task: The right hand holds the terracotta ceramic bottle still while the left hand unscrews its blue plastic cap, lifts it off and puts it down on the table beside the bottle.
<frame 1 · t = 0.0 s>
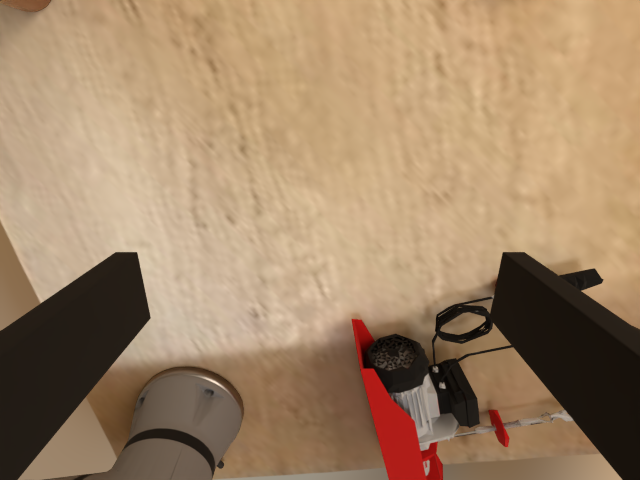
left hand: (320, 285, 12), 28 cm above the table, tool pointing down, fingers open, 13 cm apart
electric hoist: (471, 364, 48), on the table
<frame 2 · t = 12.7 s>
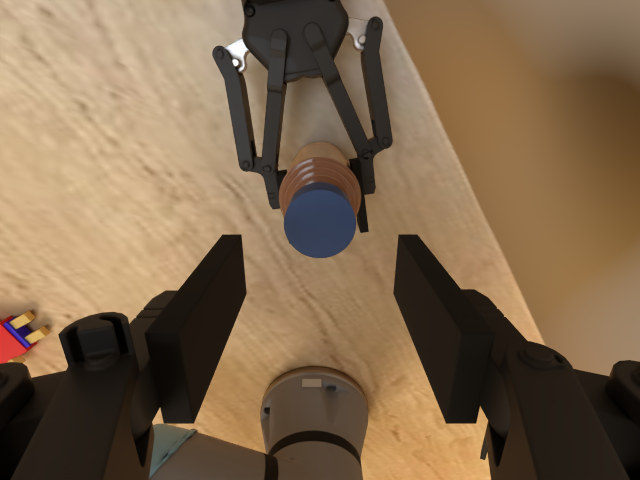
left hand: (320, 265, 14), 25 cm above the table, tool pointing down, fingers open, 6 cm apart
right hand: (328, 232, 33), fingers closed on bottle, 6 cm apart
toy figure: (9, 337, 45), on the table
cap: (319, 223, 19), point 19 cm above the table, screwed on, not yet turned
bottle: (319, 169, 37), on the table, touching right hand
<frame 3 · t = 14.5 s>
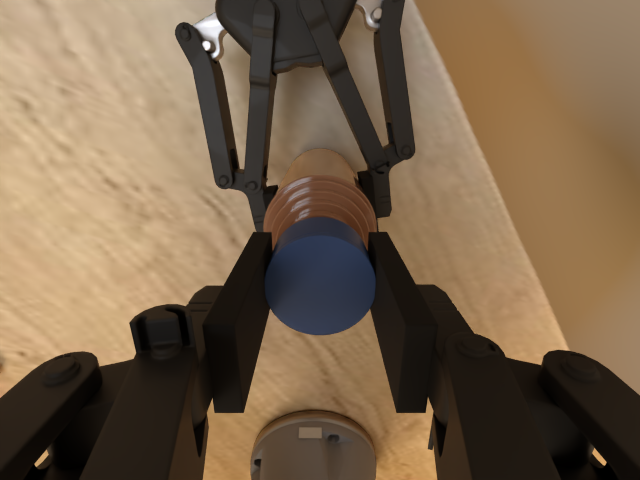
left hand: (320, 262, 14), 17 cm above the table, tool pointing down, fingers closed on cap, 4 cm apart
right hand: (330, 263, 26), fingers closed on bottle, 6 cm apart
cap: (320, 284, 12), point 19 cm above the table, screwed on, not yet turned, touching left hand
bottle: (320, 182, 31), on the table, touching right hand
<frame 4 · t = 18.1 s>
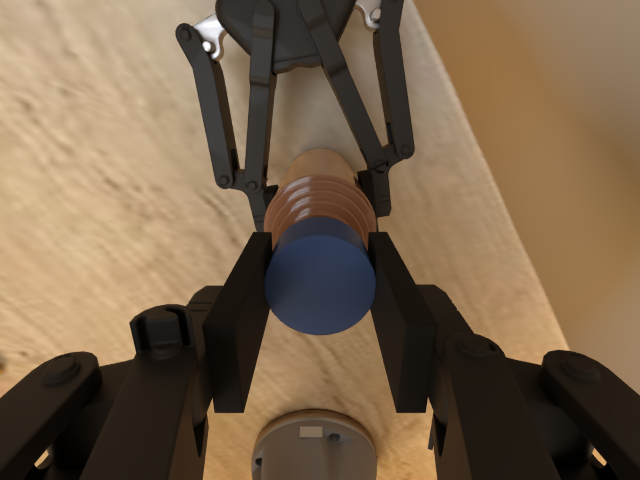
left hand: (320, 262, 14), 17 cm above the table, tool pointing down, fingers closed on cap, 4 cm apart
right hand: (330, 263, 26), fingers closed on bottle, 6 cm apart
cap: (320, 284, 12), point 19 cm above the table, turned 114° so far, risen 0.1 cm, still on its thread, touching left hand
bottle: (320, 182, 31), on the table, touching right hand
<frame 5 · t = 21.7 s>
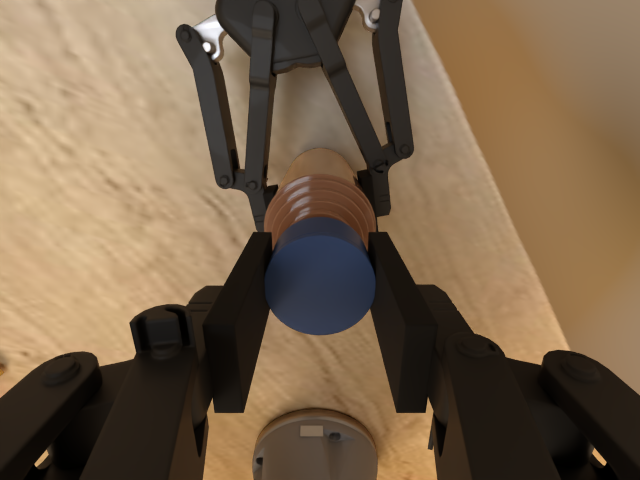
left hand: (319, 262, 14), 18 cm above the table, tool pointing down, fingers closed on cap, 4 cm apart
right hand: (330, 262, 26), fingers closed on bottle, 6 cm apart
cap: (319, 284, 12), point 20 cm above the table, turned 227° so far, risen 0.2 cm, still on its thread, touching left hand
bottle: (319, 182, 31), on the table, touching right hand
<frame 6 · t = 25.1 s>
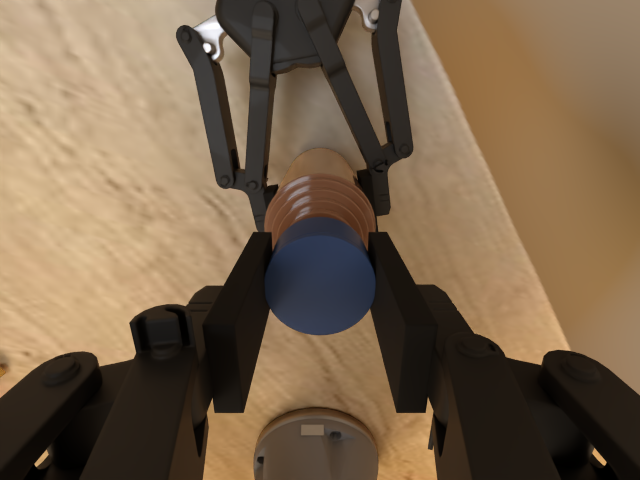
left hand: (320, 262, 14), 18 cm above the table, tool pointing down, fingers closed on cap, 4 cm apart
right hand: (331, 261, 27), fingers closed on bottle, 6 cm apart
cap: (320, 284, 12), point 20 cm above the table, turned 341° so far, risen 0.4 cm, still on its thread, touching left hand
bottle: (320, 182, 31), on the table, touching right hand
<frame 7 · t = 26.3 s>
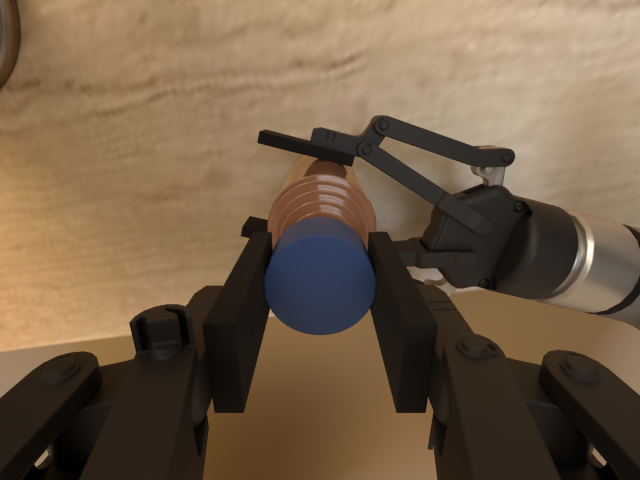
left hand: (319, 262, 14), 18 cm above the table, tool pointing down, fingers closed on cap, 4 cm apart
right hand: (253, 183, 25), fingers closed on bottle, 6 cm apart
cap: (320, 284, 13), point 20 cm above the table, off its thread, touching left hand
bottle: (321, 182, 31), on the table, touching right hand
when the left hand's fingers open (1 cm above the table, at t = 32.9 s): cap drops 1 cm, point 2 cm above the table.
when the right hand's fingers open (7 cm above the table, at t = 34.1 s): bottle stays where it is, on the table.
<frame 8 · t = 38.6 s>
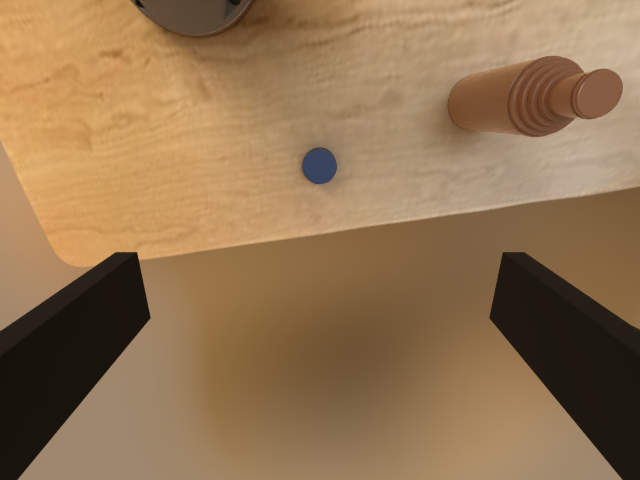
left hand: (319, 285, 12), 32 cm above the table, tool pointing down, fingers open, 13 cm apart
cap: (319, 166, 41), point 2 cm above the table, off its thread
bottle: (473, 102, 40), on the table
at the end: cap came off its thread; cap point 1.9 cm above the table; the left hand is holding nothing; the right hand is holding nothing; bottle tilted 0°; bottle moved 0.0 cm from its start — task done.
